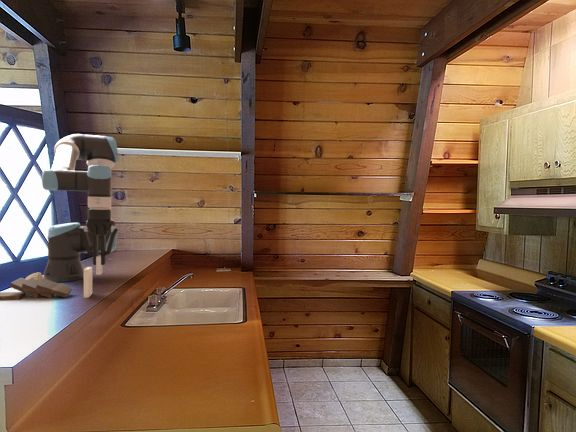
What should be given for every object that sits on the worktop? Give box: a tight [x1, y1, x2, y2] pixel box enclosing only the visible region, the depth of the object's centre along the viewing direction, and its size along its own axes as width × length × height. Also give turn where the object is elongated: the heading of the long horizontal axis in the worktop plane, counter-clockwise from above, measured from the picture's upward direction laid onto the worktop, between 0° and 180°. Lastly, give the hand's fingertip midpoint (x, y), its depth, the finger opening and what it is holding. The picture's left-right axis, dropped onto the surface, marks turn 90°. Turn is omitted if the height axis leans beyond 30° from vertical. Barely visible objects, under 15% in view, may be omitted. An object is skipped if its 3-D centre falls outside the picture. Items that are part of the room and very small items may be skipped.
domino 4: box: [36, 279, 73, 299], centre depth 136 cm, size 2×5×10 cm
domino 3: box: [22, 278, 55, 299], centre depth 135 cm, size 2×5×10 cm
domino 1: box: [0, 291, 27, 301], centre depth 132 cm, size 2×5×10 cm
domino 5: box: [83, 266, 93, 299], centre depth 138 cm, size 2×5×10 cm, turn 13°
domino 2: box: [9, 277, 42, 299], centre depth 135 cm, size 2×5×10 cm
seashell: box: [24, 271, 44, 281], centre depth 141 cm, size 8×8×8 cm
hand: (99, 273), depth 139 cm, fingers closed
